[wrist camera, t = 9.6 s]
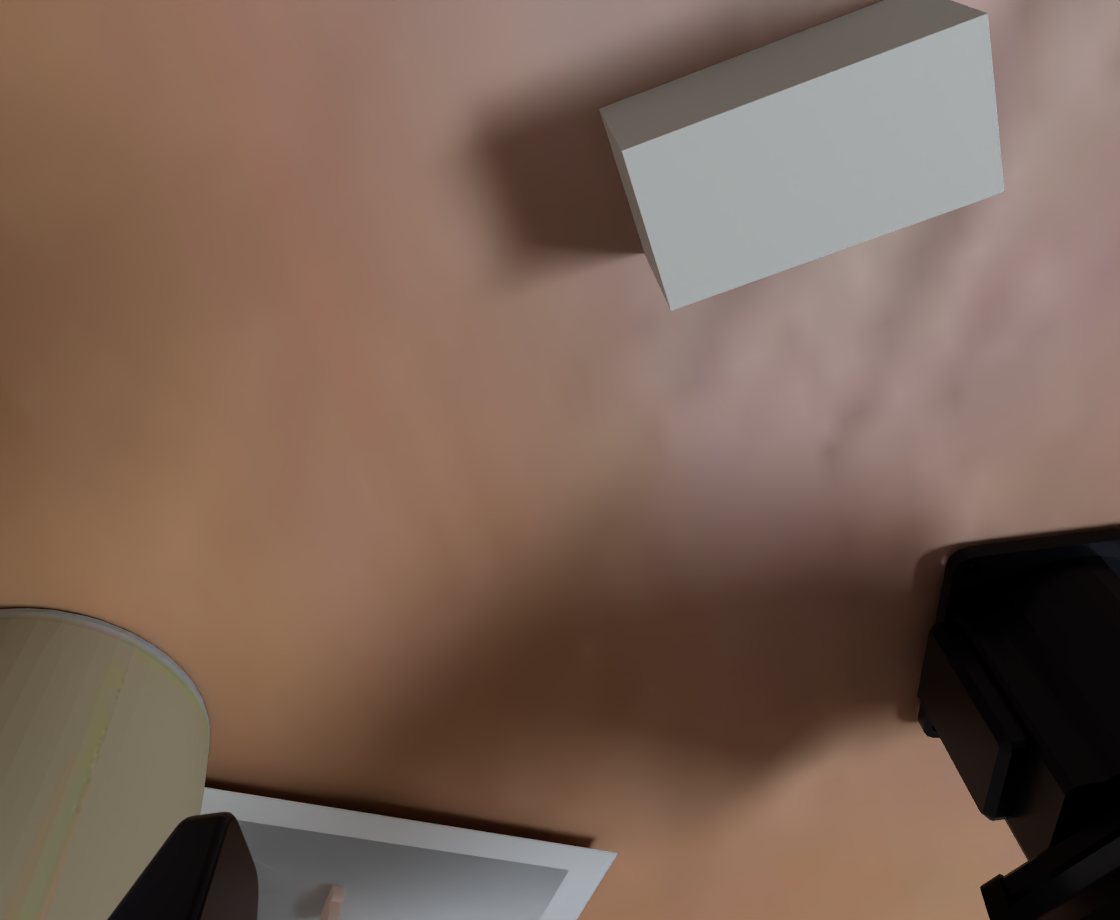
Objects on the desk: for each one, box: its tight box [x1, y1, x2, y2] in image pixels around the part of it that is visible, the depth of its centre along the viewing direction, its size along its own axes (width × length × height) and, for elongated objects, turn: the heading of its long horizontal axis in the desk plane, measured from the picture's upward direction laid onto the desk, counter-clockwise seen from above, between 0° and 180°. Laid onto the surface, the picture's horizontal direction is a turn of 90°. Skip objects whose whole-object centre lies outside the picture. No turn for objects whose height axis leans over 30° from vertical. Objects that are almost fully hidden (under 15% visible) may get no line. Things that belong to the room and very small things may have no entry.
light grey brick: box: [599, 0, 1004, 311], centre depth 18 cm, size 6×3×3 cm, turn 109°
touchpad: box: [200, 787, 618, 920], centre depth 29 cm, size 8×15×2 cm, turn 69°
